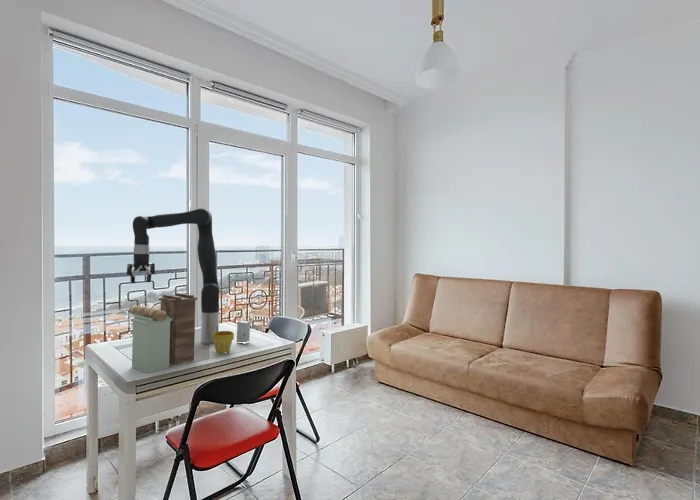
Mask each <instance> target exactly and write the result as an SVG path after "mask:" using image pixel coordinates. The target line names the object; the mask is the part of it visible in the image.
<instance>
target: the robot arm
mask: <svg viewBox="0 0 700 500" xmlns="http://www.w3.org/2000/svg"><path fill="white" fill-rule="evenodd" d="M133 218H134V219H133V220H132V230H133V235H134V239H133V240H134V241H133V242H134V244H133V263H128V264H127V266H126V267H127V268H126V275H127V276H129V277H130V283H131V284H136V275H137V274H138V273H139V272H140V273H141V272H144V273H146V282H147V283H151V281H152V275H154V274H156V269H155V267H156V266H155V263H154V262H153V263H152V262H150V237H149V234H148V231H147V230H149V229H155V228H166V227H174V226H180V225H186V224H187V225H189V224H191V225H192V224H194V225H197V230H198V240H197V241H198V242H197V257H198V264H199V267H200V270H201V275H202V289H201V292H200V293H201V295H200V296H201V297H200V300H201V301H200V306H201V312H200V313H201V314H200V317H201V319H200V321H201V322H200V343H201V344H205V345H210V344H211V345H212V344H215V343H214V341H213V333H215V332H218V331H219V321H220V320H219V318H220V317H219V316H220V315H219V314H220V313H219V312H220V286H219V285H220V284H219V281H218V277H217V259H216V247H215V241H214V236H213V215H212V212H211V211H210V210H209V209H207V208H204V207H203V208H202V207H199V208H195V209H193V210H190V211H185V212H184V211H183V212H175V213H174V212H173V213H163V214H155V215H148V216H143V215H137V216H136V217H133Z"/></svg>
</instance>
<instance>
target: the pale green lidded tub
mask: <svg viewBox="0 0 700 500" xmlns="http://www.w3.org/2000/svg"><path fill="white" fill-rule="evenodd" d="M170 321H172V318H169V316H167V318H166V319H165V320H164V321H159V320H154V319H152V318H148V317H144V316H139V315H133V318H130V322H131V323H132V341H131V342H132V344H131V345H132V347H131V348H132V350H131V351H132V352H131V353H132V354H131V368H132V369H135V370H138V371H140V372H143V373H146V374H150V373H152V372H156V371H159V370H164V369H166V368H169V367H170V363H169V352H170Z"/></svg>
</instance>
